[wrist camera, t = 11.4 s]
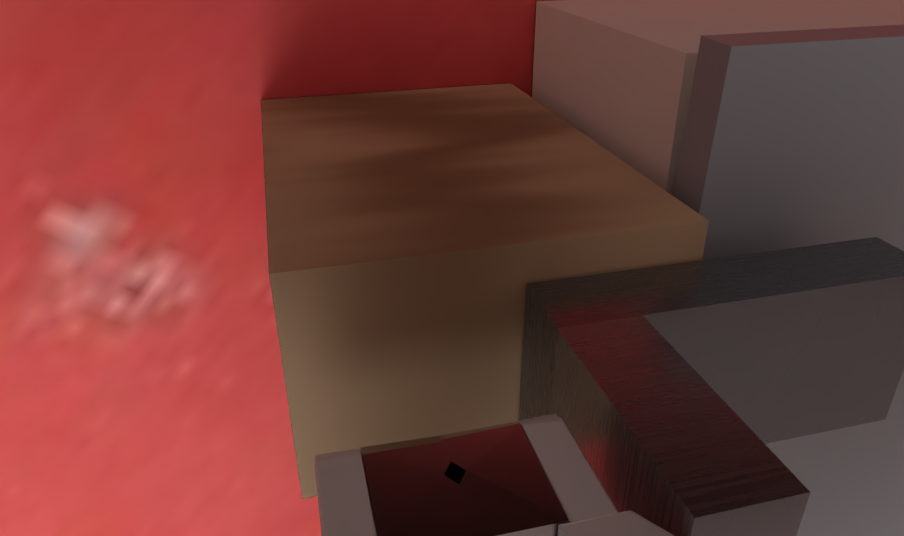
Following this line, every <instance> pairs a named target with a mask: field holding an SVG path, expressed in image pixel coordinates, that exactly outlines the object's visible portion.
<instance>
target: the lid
mask: <svg viewBox="0 0 904 536" xmlns="http://www.w3.org/2000/svg"><path fill="white" fill-rule="evenodd" d="M673 196H674V197H675V198H677V199H678V200H680V201H681V202H683V203H684V204H685V205H687V206H688V207H690V208H691V209H693V210H694V211H696V212H697V213H698V214H700V215H701V216H703V217H704V218H706V219H707V220H708V221H709V224H708V229H707V235H706V240H705V246H704V251H703V257H702V260H707V259H715V258H722V257H730V256H737V255H745V254H752V253H760V252H767V251H774V250H782V249H789V248H797V247H804V246H812V245H819V244H827V243H834V242H842V241H849V240H857V239H864V238H872V237H878V238H880V239H882V240H884V241H885V242H887V243H889V244H891V245H893V246H895V247H897V248H899V249H900V250H902V251H904V24H902V25H884V26H865V27H847V28H829V29H811V30H793V31H775V32H756V33H738V34H720V35H702V36H701V39H700V44H699V50H698V56H697V62H696V67H695V73H694V79H693V85H692V91H691V96H690V102H689V108H688V114H687V119H686V125H685V131H684V137H683V143H682V148H681V154H680V160H679V166H678V171H677V177H676V183H675V189H674V195H673ZM765 445H766V446H767V447H768V448H769V449H770V450H771V451H772V452H773V453H774V454H775V455H776V456H777V457H778V458H779V459H780V460H781V462H782V463H783V464H784V465H785V466H786V467H787V468H788V469H789V470H790V471H791V472H792V473H793V474H794V475H795V476H796V477H797V478H798V479H799V481H800V482H801V483H802V484H803V485H804V486H805V487H806V488H807V489H808V490H809V491H810V495H809V498H808V501H807V505H806V508H805V511H804V514H803V517H802V520H801V523H800V526H799V529H798V532H797V536H904V370H903V373H902V375H901V378H900V381H899V383H898V386H897V389H896V392H895V394H894V397H893V400H892V403H891V405H890V408H889V411H888V413H887V416H886V419H885V420H880V421H875V422H871V423H866V424H861V425H856V426H851V427H846V428H841V429H836V430H831V431H826V432H821V433H816V434H811V435H806V436H801V437H797V438H792V439H787V440H782V441H777V442H772V443H767V444H765Z"/></svg>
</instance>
